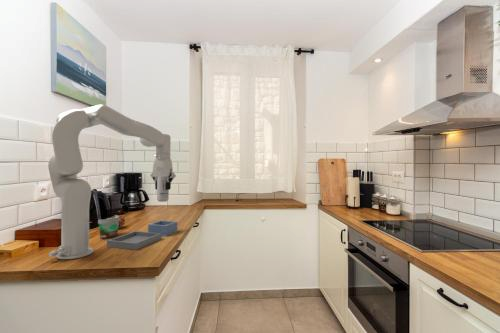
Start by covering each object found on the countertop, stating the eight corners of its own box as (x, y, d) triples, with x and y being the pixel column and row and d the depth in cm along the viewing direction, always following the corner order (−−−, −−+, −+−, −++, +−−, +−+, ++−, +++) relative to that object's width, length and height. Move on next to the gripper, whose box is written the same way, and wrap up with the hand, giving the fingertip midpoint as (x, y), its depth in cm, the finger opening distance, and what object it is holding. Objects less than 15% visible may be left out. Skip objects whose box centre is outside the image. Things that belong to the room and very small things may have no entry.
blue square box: (165, 236, 133) (165, 225, 133) (148, 234, 136) (148, 224, 136) (177, 231, 144) (177, 221, 144) (160, 229, 147) (160, 220, 147)
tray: (136, 250, 111) (136, 243, 111) (106, 246, 116) (106, 240, 116) (161, 238, 129) (161, 233, 129) (135, 236, 133) (135, 230, 133)
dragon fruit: (124, 228, 156) (111, 236, 144) (113, 220, 156) (99, 227, 144) (131, 218, 154) (118, 225, 142) (119, 209, 154) (106, 216, 142)
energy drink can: (160, 202, 135) (161, 174, 136) (154, 201, 139) (155, 173, 139) (170, 201, 140) (171, 173, 140) (164, 200, 144) (165, 173, 144)
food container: (108, 240, 126) (108, 220, 126) (97, 239, 127) (97, 219, 127) (125, 233, 138) (125, 215, 138) (115, 233, 139) (115, 214, 139)
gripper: (145, 156, 139) (145, 189, 139) (173, 156, 134) (172, 190, 134) (154, 157, 146) (153, 188, 146) (180, 156, 141) (180, 189, 141)
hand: (162, 189), depth 140 cm, fingers closed on energy drink can, 6 cm apart
